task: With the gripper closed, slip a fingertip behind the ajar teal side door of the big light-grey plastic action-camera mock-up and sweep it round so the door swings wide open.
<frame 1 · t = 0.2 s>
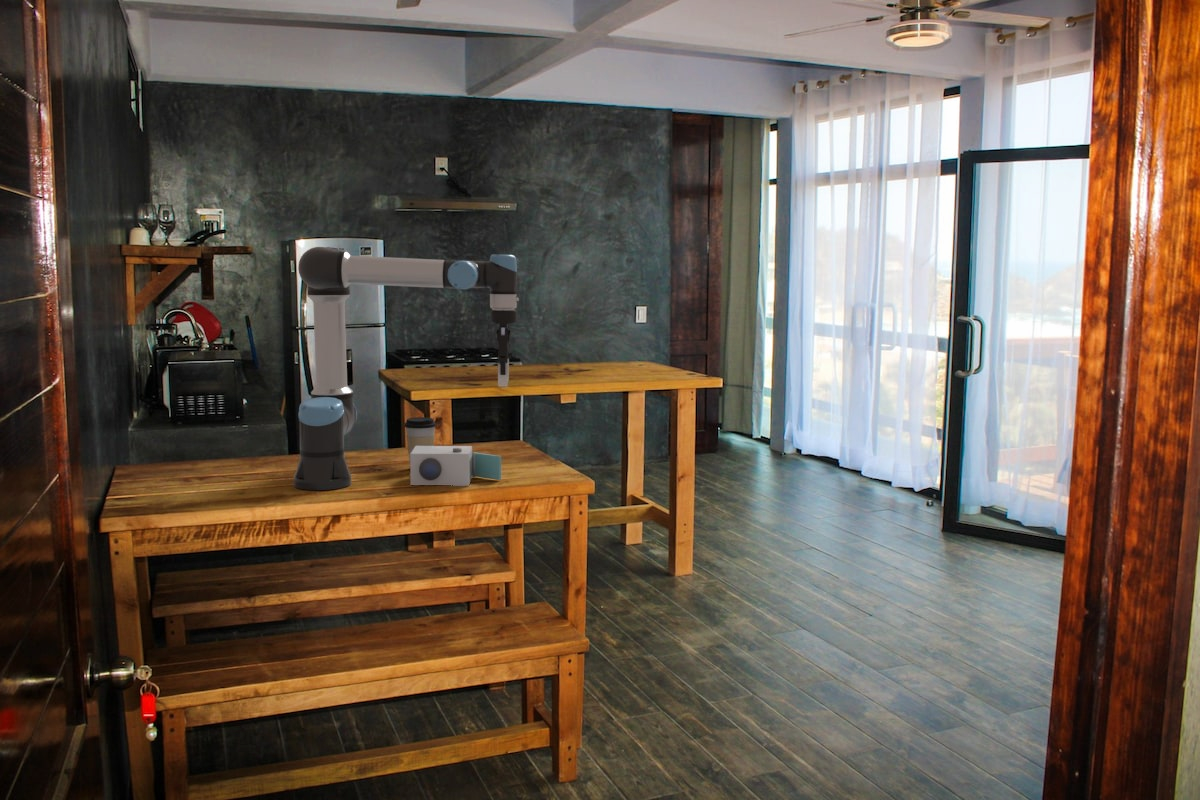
hand: (503, 383, 282), 27 cm above the table, fingers open, 13 cm apart
camera body: (441, 481, 277), on the table
coffee cup: (420, 469, 294), on the table
side door: (487, 466, 281), point 4 cm above the table, hinge at 55.0°
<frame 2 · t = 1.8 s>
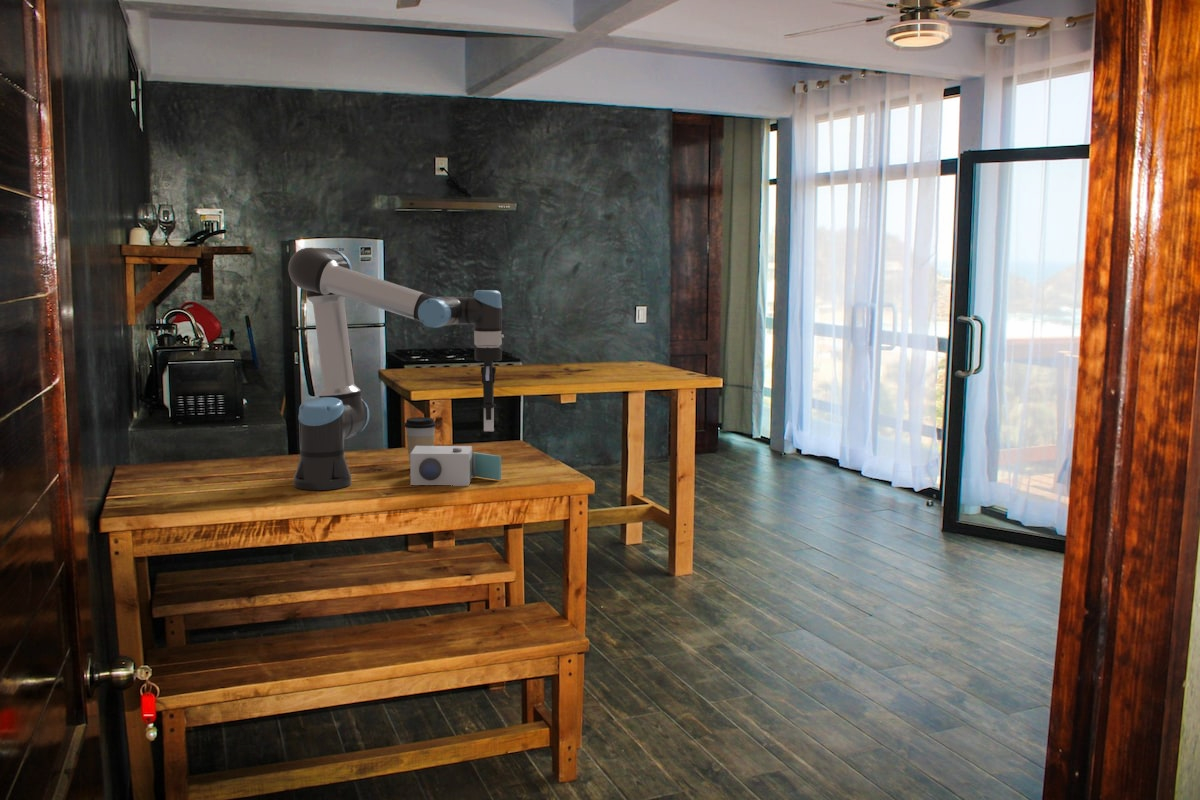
hand: (488, 430, 274), 15 cm above the table, fingers closed
nothing on the table moved.
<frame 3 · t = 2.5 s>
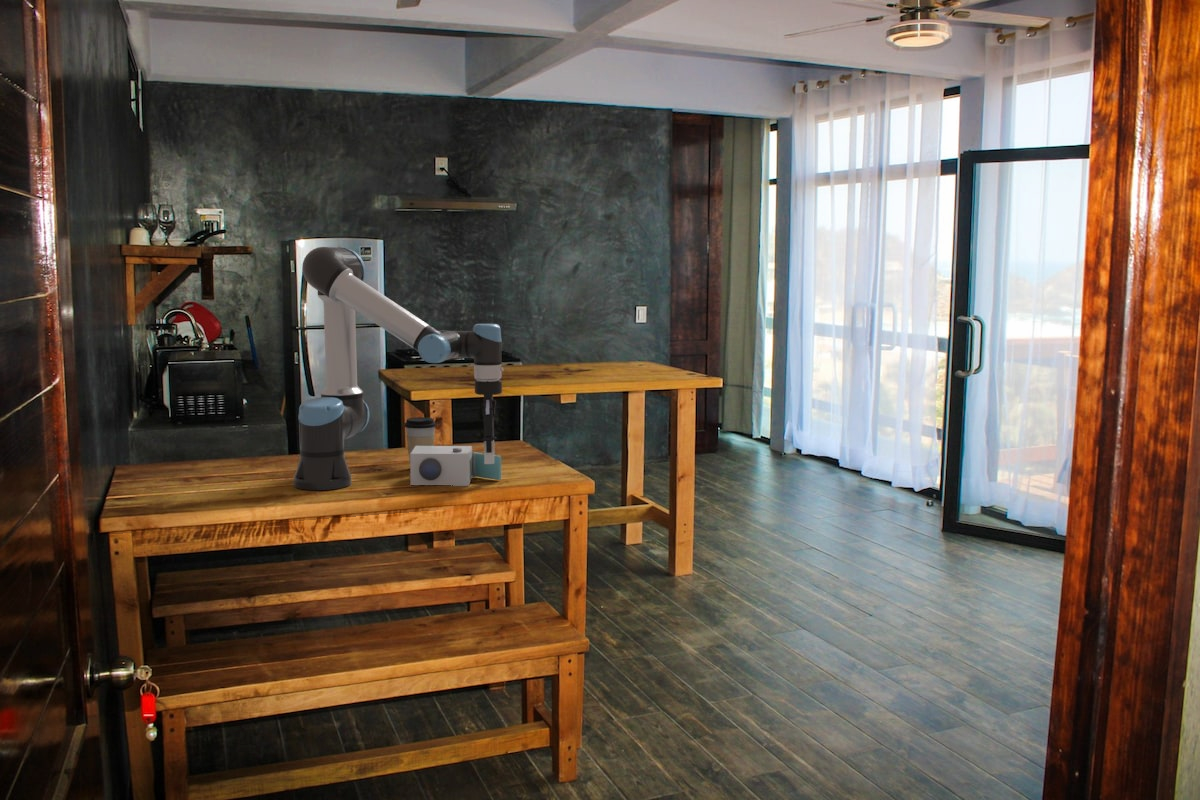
hand: (489, 463, 276), 6 cm above the table, fingers closed
nothing on the table moved.
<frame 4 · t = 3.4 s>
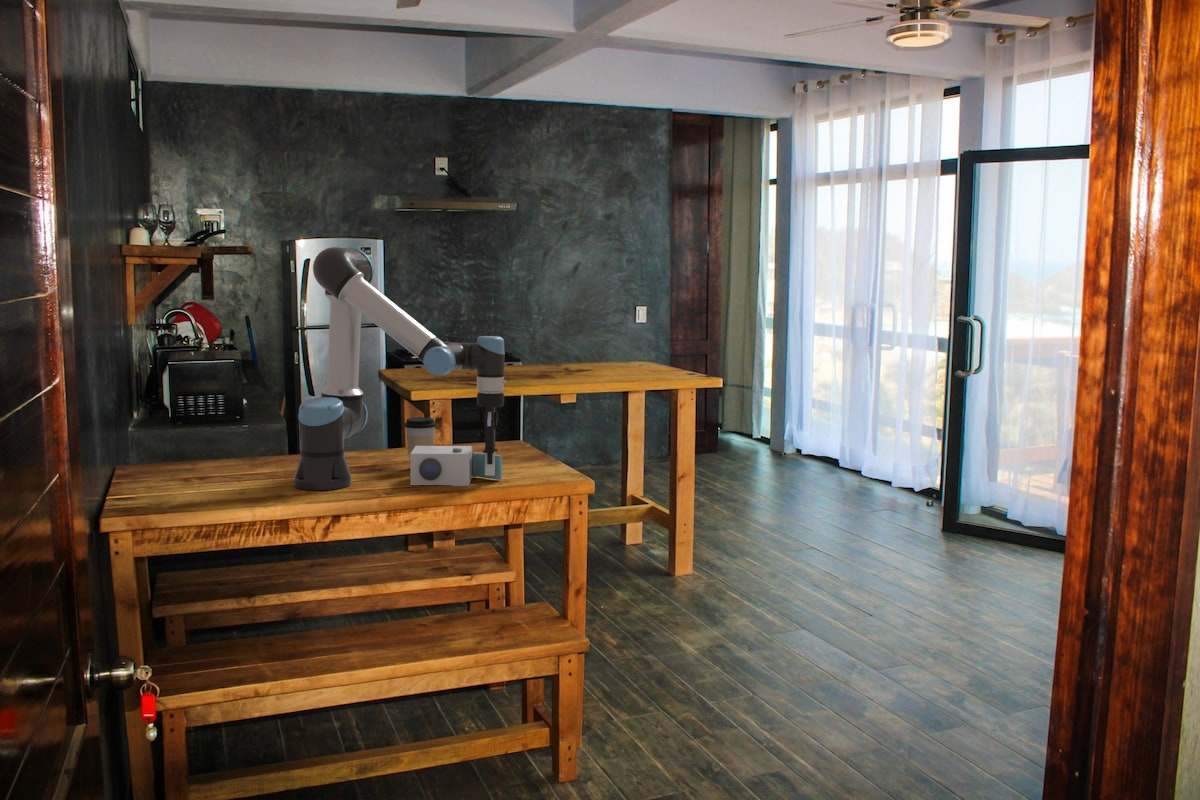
hand: (489, 474, 277), 2 cm above the table, fingers closed
side door: (487, 465, 281), point 4 cm above the table, hinge at 57.9°, touching gripper
everything else where it was.
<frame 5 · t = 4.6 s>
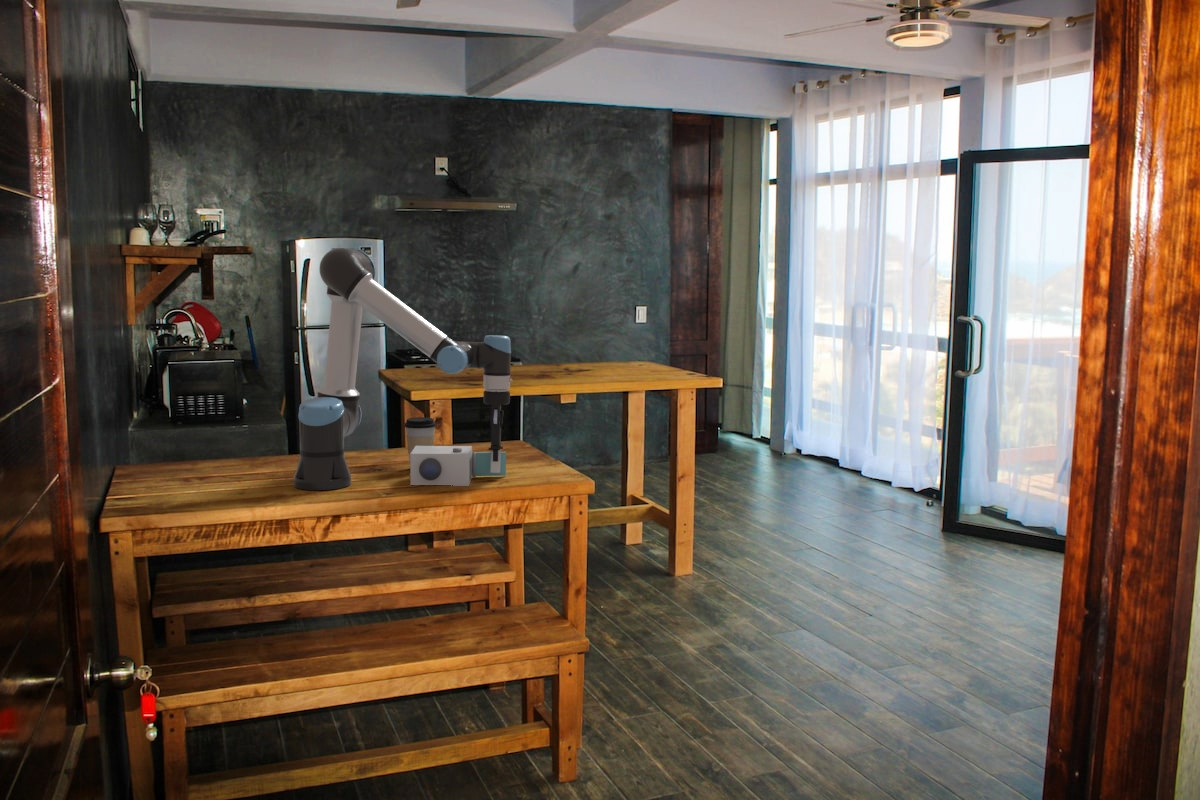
hand: (495, 472, 281), 2 cm above the table, fingers closed
side door: (488, 463, 284), point 4 cm above the table, hinge at 96.3°, touching gripper
everything else where it was.
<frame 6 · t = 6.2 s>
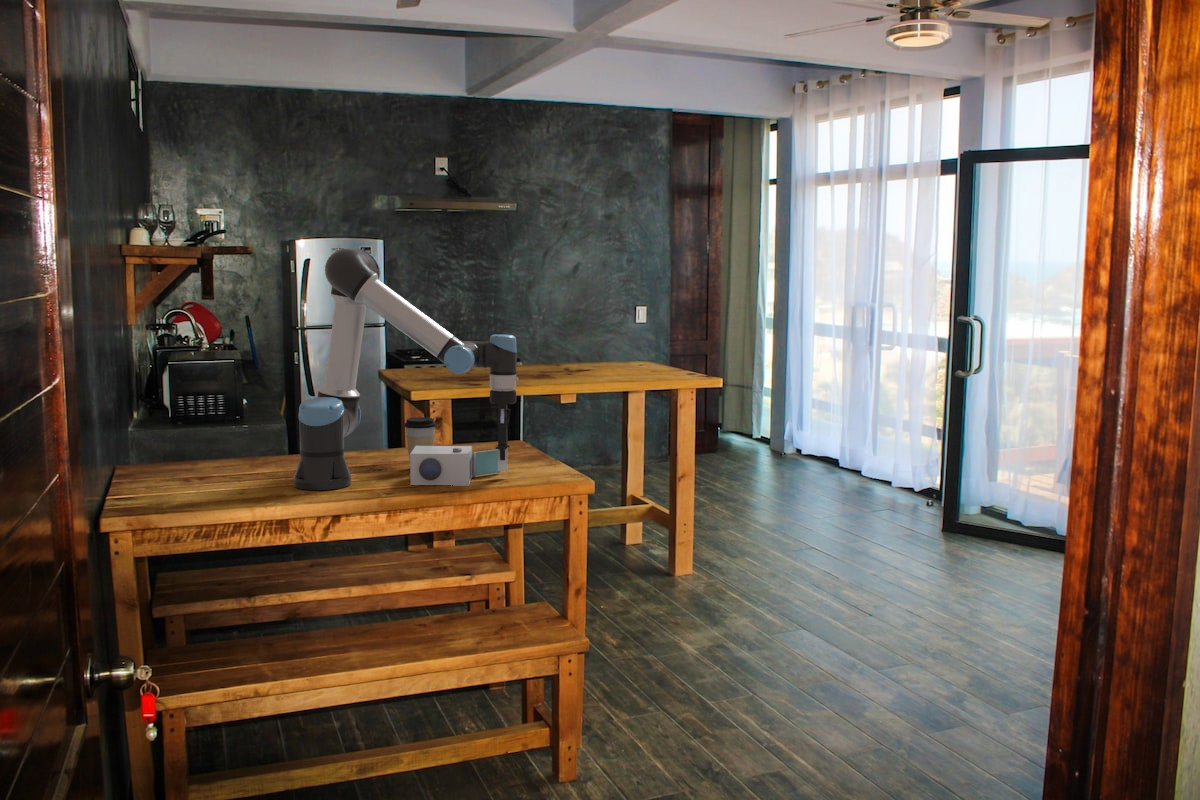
hand: (502, 470, 282), 2 cm above the table, fingers closed
side door: (485, 462, 285), point 4 cm above the table, hinge at 125.8°
everything else where it was.
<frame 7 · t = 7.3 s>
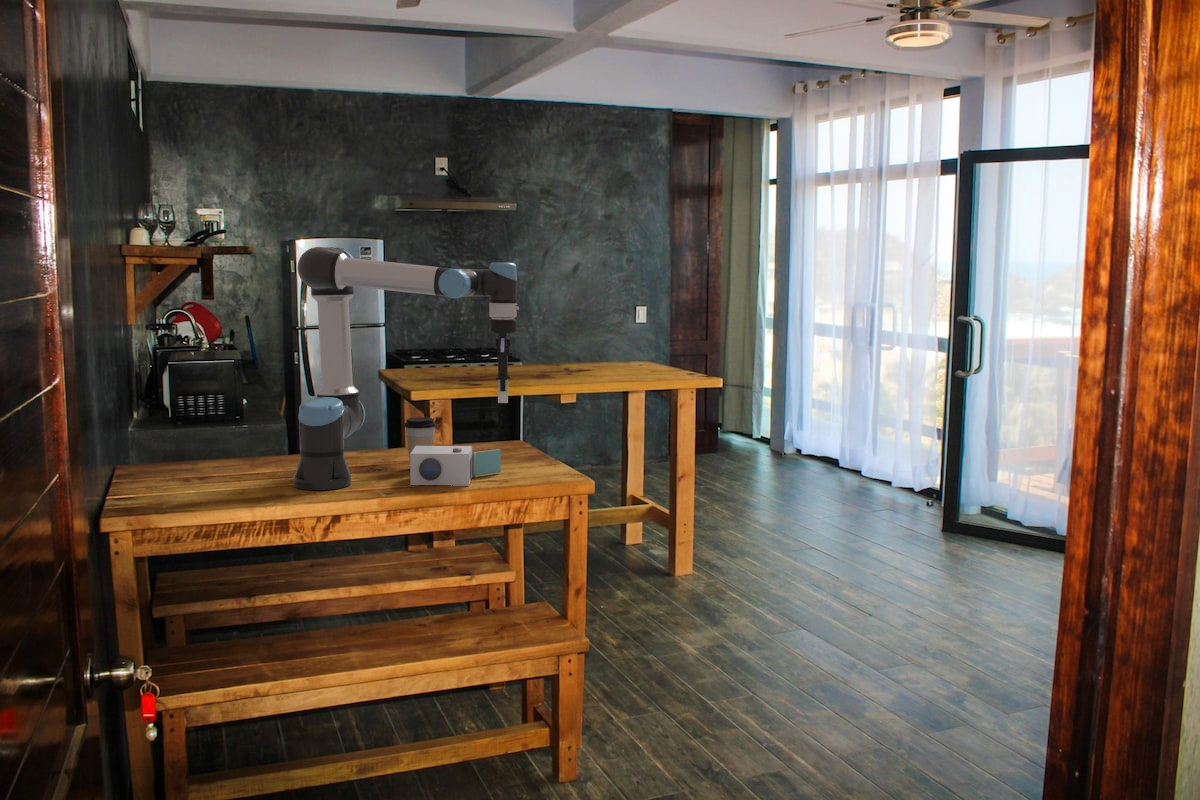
hand: (502, 402, 276), 22 cm above the table, fingers closed
nothing on the table moved.
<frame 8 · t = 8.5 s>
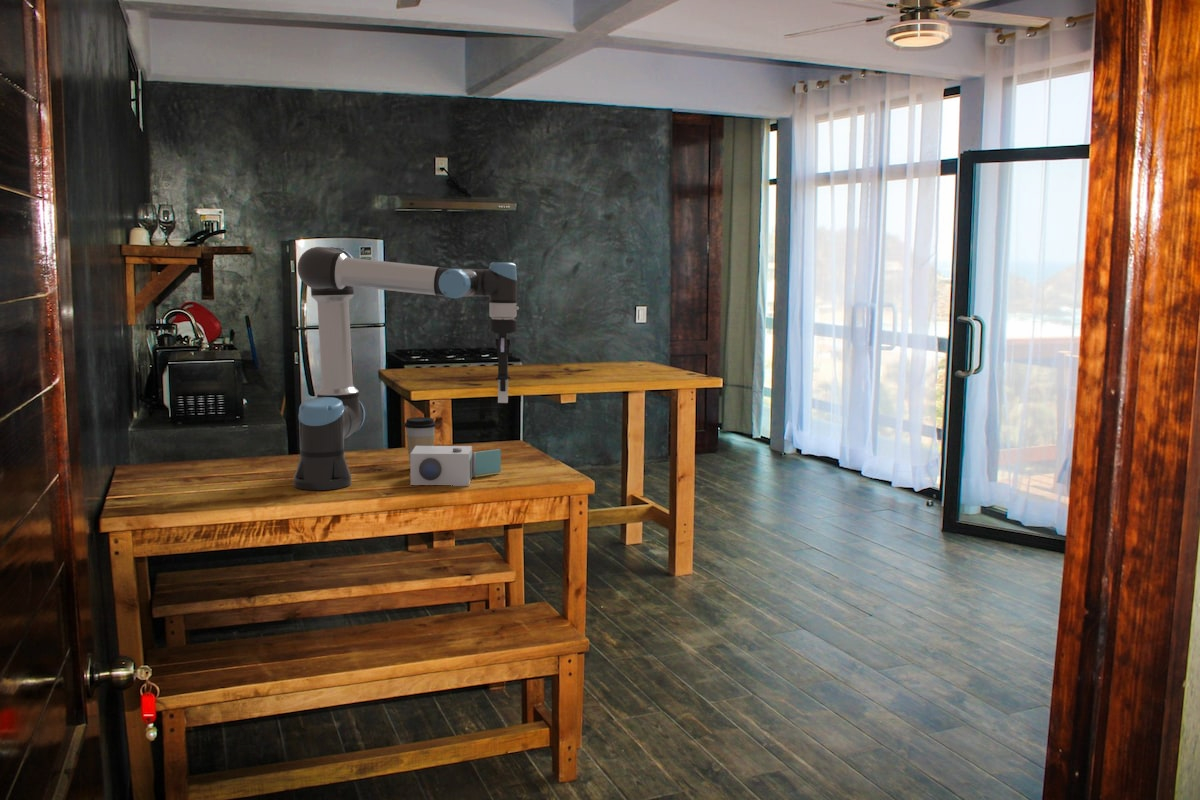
hand: (502, 402, 276), 22 cm above the table, fingers closed
nothing on the table moved.
at the end: side door at +126° (first picture: +55°) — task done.
